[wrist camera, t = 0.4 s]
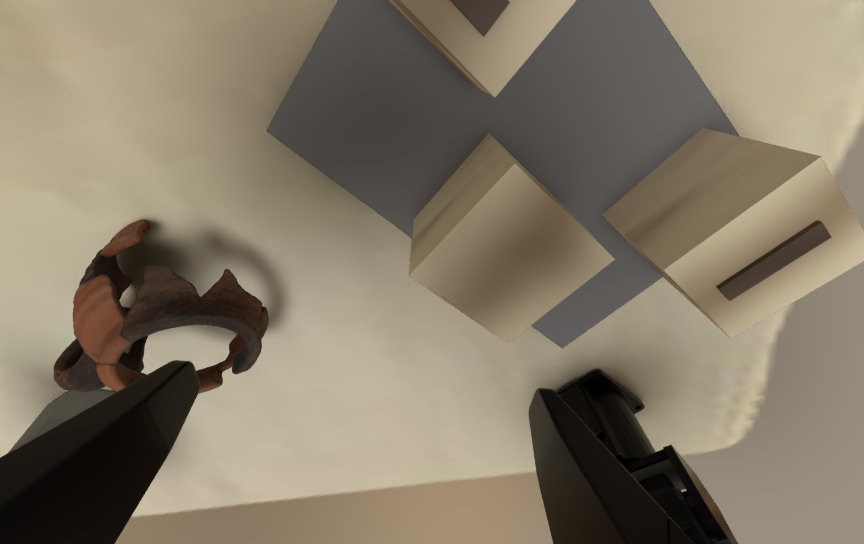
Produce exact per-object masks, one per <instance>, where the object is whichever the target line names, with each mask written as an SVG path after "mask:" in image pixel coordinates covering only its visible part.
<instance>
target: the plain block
mask: <svg viewBox="0 0 864 544" xmlns="http://www.w3.org/2000/svg"><path fill="white" fill-rule="evenodd" d="M614 260H615V259H614V258H613V257H612V256H611V254H610V253H609V252H608V251H607V250H606V249H605V248H604V247H603V246H602V245H601V244H600V243H599V242H598V241H597V240H596V239H595V237H594V236H593V235H592V234H591V233H590V232H589V231H588V230H587V229H586V228H585V227H584V226H583V225H582V224H581V223H580V222H579V221H578V219H577V218H576V217H575V216H574V215H573V214H572V213H571V212H570V211H569V210H568V209H567V208H566V207H565V206H564V205H563V204H562V203H561V202H560V201H559V200H558V199H557V198H556V197H555V196H554V195H553V194H552V193H551V192H550V191H549V190H548V189H547V188H546V187H545V186H544V185H543V184H541V183H540V182H539V181H538V180H537V179H536V178H535V177H534V176H533V175H532V174H531V173H530V172H529V171H528V170H527V169H526V168H525V167H524V166H523V165H522V164H521V163H520V162H519V161H518V160H517V159H516V158H515V157H513V156H512V155H511V154H510V153H509V152H508V151H507V150H506V149H505V148H504V147H503V146H502V145H501V144H500V143H499V142H498V141H497V140H496V139H495V138H494V137H493V136H492V135H491V134H490V133H488V134H487V136H486V137H485V138H484V139H483V140H482V141H481V143H480V144H479V145H478V146H477V147H476V148H475V149H474V151H473V152H472V153H471V154H470V155H469V156H468V157H467V159H466V160H465V161H464V162H463V163H462V164H461V166H460V167H459V168H458V169H457V170H456V171H455V172H454V174H453V175H452V176H451V177H450V178H449V179H448V181H447V182H446V183H445V184H444V185H443V186H442V187H441V189H440V190H439V191H438V192H437V193H436V194H435V196H434V197H433V198H432V199H431V200H430V201H429V202H428V204H427V205H426V206H425V207H424V208H423V209H422V210H421V212H420V213H419V214H418V215H417V216H416V217H415V219H414V224H413V235H412V246H411V257H410V268H409V276H410V277H411V278H413V279H414V280H416V281H417V282H419V283H420V284H422V285H423V286H425V287H426V288H428V289H429V290H430V291H432V292H433V293H435V294H436V295H438V296H439V297H441V298H442V299H444V300H445V301H447V302H448V303H449V304H451V305H452V306H454V307H455V308H457V309H458V310H460V311H461V312H463V313H464V314H466V315H467V316H468V317H470V318H471V319H473V320H474V321H476V322H477V323H479V324H480V325H482V326H483V327H485V328H486V329H487V330H489V331H490V332H492V333H493V334H495V335H496V336H498V337H499V338H501V339H502V340H504V341H505V342H506V343H509V342H510V341H511V340H513V339H514V338H515V337H517V336H518V335H519V334H520V333H522V332H523V331H524V330H526V329H527V328H528V327H529V326H531V325H532V324H533V323H534V322H536V321H537V320H538V319H540V318H541V317H542V316H543V315H545V314H546V313H547V312H549V311H550V310H551V309H552V308H554V307H555V306H556V305H557V304H559V303H560V302H561V301H563V300H564V299H565V298H566V297H568V296H569V295H570V294H572V293H573V292H574V291H575V290H577V289H578V288H579V287H581V286H582V285H583V284H584V283H586V282H587V281H588V280H589V279H591V278H592V277H593V276H595V275H596V274H597V273H598V272H600V271H601V270H602V269H604V268H605V267H606V266H607V265H609V264H610V263H611V262H612V261H614Z"/></svg>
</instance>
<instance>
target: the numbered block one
mask: <svg viewBox="0 0 864 544" xmlns="http://www.w3.org/2000/svg"><path fill="white" fill-rule="evenodd" d="M602 216H603V217H604V218H605V219H606V220H607V221H608V222H609V223H610V224H611V225H612V226H613V227H614V228H615V229H616V230H617V231H618V232H619V233H620V234H621V235H622V236H623V237H624V238H625V239H626V240H627V241H628V242H629V243H630V244H631V245H632V246H633V247H634V248H635V249H636V250H637V251H638V252H639V253H640V254H641V255H642V256H643V257H644V258H645V259H646V260H647V261H648V262H649V263H650V264H651V265H652V266H653V267H654V268H655V269H656V270H657V271H658V272H659V273H660V274H661V275H662V276H663V277H664V278H665V279H666V280H667V281H668V282H669V283H671V284H672V285H673V286H674V287H675V288H676V289H677V290H678V291H679V292H680V293H681V294H683V295H684V296H685V297H686V298H687V299H688V300H689V301H690V302H691V303H692V304H693V305H695V306H696V307H697V308H698V309H699V310H700V311H701V312H702V313H703V314H704V315H705V316H707V317H708V318H709V319H710V320H711V321H712V322H713V323H714V324H715V325H716V326H717V327H719V328H720V329H721V330H722V331H723V332H724V333H725V334H726V335H727V336H728V337H729V338H730V339H731V338H732V337H734V336H736V335H738V334H739V333H741V332H743V331H744V330H746V329H748V328H750V327H751V326H753V325H755V324H756V323H758V322H760V321H762V320H763V319H765V318H767V317H768V316H770V315H772V314H774V313H775V312H777V311H779V310H780V309H782V308H784V307H786V306H787V305H789V304H791V303H792V302H794V301H796V300H798V299H799V298H801V297H803V296H805V295H806V294H808V293H810V292H811V291H813V290H815V289H817V288H818V287H820V286H822V285H823V284H825V283H827V282H829V281H830V280H832V279H834V278H835V277H837V276H839V275H840V274H842V273H844V272H846V271H847V270H849V269H851V268H852V267H854V266H856V265H858V264H859V263H861V262H863V261H864V231H863V229H862V227H861V226H860V224H859V222H858V220H857V218H856V217H855V215H854V213H853V211H852V210H851V208H850V206H849V204H848V203H847V201H846V199H845V197H844V196H843V194H842V192H841V190H840V189H839V187H838V185H837V183H836V181H835V180H834V178H833V176H832V174H831V173H830V171H829V169H828V167H827V166H826V164H825V162H824V160H823V159H822V157H821V156H817V155H813V154H809V153H805V152H801V151H797V150H793V149H789V148H784V147H780V146H776V145H772V144H768V143H764V142H760V141H755V140H751V139H747V138H743V137H739V136H735V135H731V134H727V133H722V132H718V131H714V130H710V129H706V128H702V129H701V130H700V131H699V132H698V133H696V134H695V135H694V136H693V137H692V138H691V139H689V140H688V141H687V142H686V143H685V144H684V145H682V146H681V147H680V148H679V149H678V150H677V151H675V152H674V153H673V154H672V155H671V156H670V157H668V158H667V159H666V160H665V161H664V162H663V163H661V164H660V165H659V166H658V167H657V168H656V169H654V170H653V171H652V172H651V173H650V174H649V175H647V176H646V177H645V178H644V179H643V180H642V181H640V182H639V183H638V184H637V185H636V186H635V187H633V188H632V189H631V190H630V191H629V192H628V193H626V194H625V195H624V196H623V197H622V198H621V199H619V200H618V201H617V202H616V203H615V204H614V205H612V206H611V207H610V208H609V209H608V210H607V211H606V212H604V213H603V214H602Z"/></svg>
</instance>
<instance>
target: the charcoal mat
mask: <svg viewBox="0 0 864 544" xmlns="http://www.w3.org/2000/svg"><path fill="white" fill-rule="evenodd" d="M702 128H706V129H710V130H714V131H718V132H722V133H727V134H731V135H735V136H739V134H738V133H737V131H736V130H735V128H734V127H733V125H732V124H731V122H730V121H729V119H728V118H727V116H726V115H725V113H724V112H723V110H722V109H721V107H720V106H719V104H718V103H717V101H716V100H715V98H714V97H713V96H712V94H711V93H710V91H709V90H708V88H707V87H706V85H705V84H704V82H703V81H702V79H701V78H700V76H699V75H698V73H697V72H696V70H695V69H694V67H693V66H692V64H691V63H690V61H689V60H688V58H687V57H686V55H685V54H684V52H683V51H682V49H681V48H680V46H679V45H678V43H677V42H676V40H675V39H674V37H673V36H672V34H671V33H670V31H669V30H668V28H667V27H666V25H665V24H664V22H663V21H662V20H661V18H660V17H659V15H658V14H657V12H656V11H655V9H654V8H653V6H652V5H651V3H650V2H649V0H576V1H575V3H574V4H573V5H572V6H571V7H570V9H569V10H568V11H567V12H566V13H565V15H564V16H563V17H562V18H561V19H560V21H559V22H558V23H557V24H556V25H555V27H554V28H553V29H552V30H551V31H550V33H549V34H548V35H547V36H546V37H545V38H544V40H543V41H542V42H541V43H540V44H539V46H538V47H537V48H536V49H535V50H534V52H533V53H532V54H531V55H530V56H529V58H528V59H527V60H526V61H525V62H524V64H523V65H522V66H521V67H520V68H519V70H518V71H517V72H516V73H515V74H514V76H513V77H512V78H511V79H510V80H509V82H508V83H507V84H506V85H505V86H504V88H503V89H502V90H501V91H500V92H499V94H498V95H497V96H496V97H493V96H491V95H489V94H488V93H486V92H484V91H482V90H480V89H478V88H477V87H475V86H473V85H472V84H471V83H470V82H469V81H468V80H467V79H466V78H465V77H464V76H463V75H462V74H461V73H460V72H459V71H458V70H457V69H456V68H455V67H454V66H453V65H452V64H451V63H450V62H449V61H448V59H447V58H446V57H445V56H444V55H443V54H442V53H441V52H440V51H439V50H438V49H437V48H436V47H435V46H434V45H433V44H432V43H431V42H430V41H429V40H428V39H427V38H426V37H425V36H424V35H423V34H422V33H421V32H420V31H419V30H418V29H417V28H416V27H415V26H414V25H413V24H412V23H411V22H410V21H409V20H408V19H407V18H406V17H405V16H404V15H403V14H402V13H401V12H400V11H399V10H398V9H397V8H396V7H395V6H394V5H393V4H392V3H391V2H390V1H389V0H338V1H337V3H336V5H335V7H334V9H333V11H332V12H331V14H330V16H329V18H328V20H327V21H326V23H325V25H324V27H323V29H322V31H321V32H320V34H319V36H318V38H317V40H316V42H315V43H314V45H313V47H312V49H311V51H310V52H309V54H308V56H307V58H306V60H305V62H304V63H303V65H302V67H301V69H300V71H299V72H298V74H297V76H296V78H295V80H294V82H293V83H292V85H291V87H290V89H289V91H288V92H287V94H286V96H285V98H284V100H283V102H282V103H281V105H280V107H279V109H278V111H277V112H276V114H275V116H274V118H273V120H272V122H271V123H270V125H269V127H268V129H267V132H268V133H270V134H271V135H273V136H274V137H275V138H277V139H278V140H279V141H281V142H282V143H283V144H285V145H286V146H287V147H289V148H290V149H292V150H293V151H294V152H296V153H297V154H298V155H300V156H301V157H302V158H304V159H305V160H307V161H308V162H309V163H311V164H312V165H313V166H315V167H316V168H317V169H319V170H320V171H322V172H323V173H324V174H326V175H327V176H328V177H330V178H331V179H332V180H334V181H335V182H336V183H338V184H339V185H341V186H342V187H343V188H345V189H346V190H347V191H349V192H350V193H351V194H353V195H354V196H356V197H357V198H358V199H360V200H361V201H362V202H364V203H365V204H366V205H368V206H369V207H370V208H372V209H373V210H375V211H376V212H377V213H379V214H380V215H381V216H383V217H384V218H385V219H387V220H388V221H390V222H391V223H392V224H394V225H395V226H396V227H398V228H399V229H400V230H402V231H403V232H405V233H406V234H407V235H409V236H410V237H411V238H412V235H413V224H414V219H415V217H416V216H417V215H418V214H419V213H420V212H421V210H422V209H423V208H424V207H425V206H426V205H427V204H428V202H429V201H430V200H431V199H432V198H433V197H434V196H435V194H436V193H437V192H438V191H439V190H440V189H441V187H442V186H443V185H444V184H445V183H446V182H447V181H448V179H449V178H450V177H451V176H452V175H453V174H454V172H455V171H456V170H457V169H458V168H459V167H460V166H461V164H462V163H463V162H464V161H465V160H466V159H467V157H468V156H469V155H470V154H471V153H472V152H473V151H474V149H475V148H476V147H477V146H478V145H479V144H480V143H481V141H482V140H483V139H484V138H485V137H486V136H487V134H488V133H490V134H491V135H492V136H493V137H494V138H495V139H496V140H497V141H498V142H499V143H500V144H501V145H502V146H503V147H504V148H505V149H506V150H507V151H508V152H509V153H510V154H511V155H512V156H513V157H515V158H516V159H517V160H518V161H519V162H520V163H521V164H522V165H523V166H524V167H525V168H526V169H527V170H528V171H529V172H530V173H531V174H532V175H533V176H534V177H535V178H536V179H537V180H538V181H539V182H540V183H541V184H543V185H544V186H545V187H546V188H547V189H548V190H549V191H550V192H551V193H552V194H553V195H554V196H555V197H556V198H557V199H558V200H559V201H560V202H561V203H562V204H563V205H564V206H565V207H566V208H567V209H568V210H569V211H570V212H571V213H572V214H573V215H574V216H575V217H576V218H577V219H578V221H579V222H580V223H581V224H582V225H583V226H584V227H585V228H586V229H587V230H588V231H589V232H590V233H591V234H592V235H593V236H594V237H595V239H596V240H597V241H598V242H599V243H600V244H601V245H602V246H603V247H604V248H605V249H606V250H607V251H608V252H609V253H610V254H611V256H612V257H613V258H614V259H615V260H614V261H612V262H611V263H610V264H609V265H607V266H606V267H605V268H604V269H602V270H601V271H600V272H598V273H597V274H596V275H595V276H593V277H592V278H591V279H589V280H588V281H587V282H586V283H584V284H583V285H582V286H581V287H579V288H578V289H577V290H575V291H574V292H573V293H572V294H570V295H569V296H568V297H566V298H565V299H564V300H563V301H561V302H560V303H559V304H557V305H556V306H555V307H554V308H552V309H551V310H550V311H549V312H547V313H546V314H545V315H543V316H542V317H541V318H540V319H538V320H537V321H536V322H534V323H533V324H532V325H531V326H532V327H534V328H535V329H537V330H538V331H539V332H541V333H542V334H543V335H545V336H546V337H547V338H549V339H550V340H551V341H553V342H554V343H556V344H557V345H558V346H560V347H561V348H563V347H565V346H566V345H568V344H569V343H570V342H572V341H573V340H575V339H576V338H577V337H579V336H580V335H582V334H583V333H585V332H586V331H587V330H589V329H590V328H592V327H593V326H594V325H596V324H597V323H599V322H600V321H601V320H603V319H604V318H606V317H607V316H608V315H610V314H611V313H613V312H614V311H615V310H617V309H618V308H620V307H621V306H622V305H624V304H625V303H627V302H628V301H629V300H631V299H632V298H634V297H635V296H636V295H638V294H639V293H641V292H642V291H643V290H645V289H646V288H648V287H649V286H650V285H652V284H653V283H655V282H656V281H657V280H659V279H660V278H662V277H663V276H662V275H661V274H660V273H659V272H658V271H657V270H656V269H655V268H654V267H653V266H652V265H651V264H650V263H649V262H648V261H647V260H646V259H645V258H644V257H643V256H642V255H641V254H640V253H639V252H638V251H637V250H636V249H635V248H634V247H633V246H632V245H631V244H630V243H629V242H628V241H627V240H626V239H625V238H624V237H623V236H622V235H621V234H620V233H619V232H618V231H617V230H616V229H615V228H614V227H613V226H612V225H611V224H610V223H609V222H608V221H607V220H606V219H605V218H604V217H603V216H602V214H603V213H604V212H606V211H607V210H608V209H609V208H610V207H611V206H612V205H614V204H615V203H616V202H617V201H618V200H619V199H621V198H622V197H623V196H624V195H625V194H626V193H628V192H629V191H630V190H631V189H632V188H633V187H635V186H636V185H637V184H638V183H639V182H640V181H642V180H643V179H644V178H645V177H646V176H647V175H649V174H650V173H651V172H652V171H653V170H654V169H656V168H657V167H658V166H659V165H660V164H661V163H663V162H664V161H665V160H666V159H667V158H668V157H670V156H671V155H672V154H673V153H674V152H675V151H677V150H678V149H679V148H680V147H681V146H682V145H684V144H685V143H686V142H687V141H688V140H689V139H691V138H692V137H693V136H694V135H695V134H696V133H698V132H699V131H700V130H701V129H702ZM739 137H740V136H739Z"/></svg>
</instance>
